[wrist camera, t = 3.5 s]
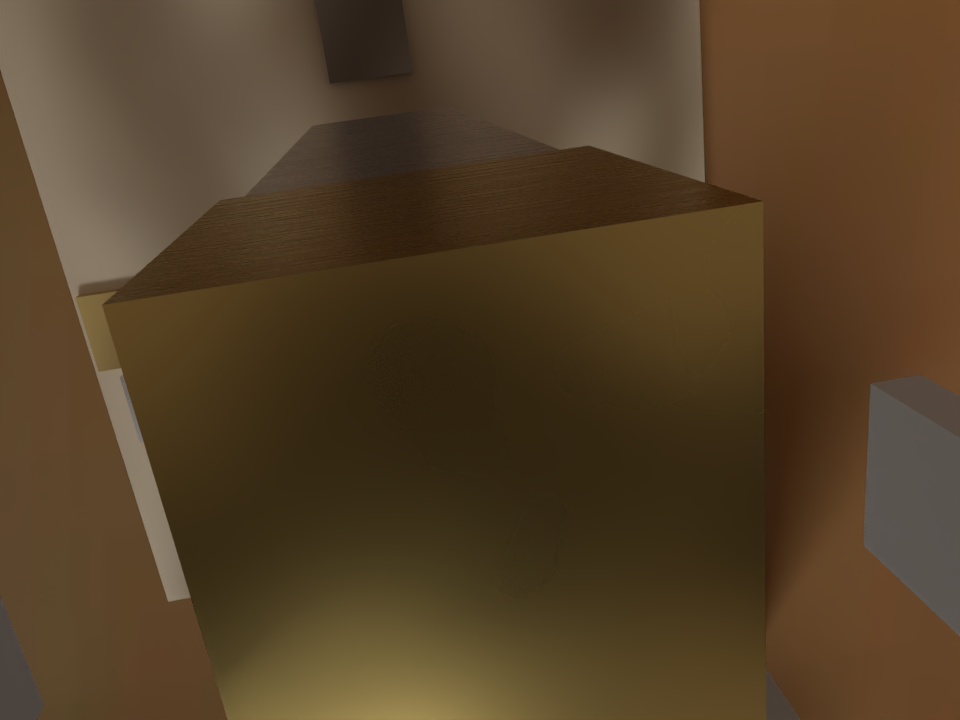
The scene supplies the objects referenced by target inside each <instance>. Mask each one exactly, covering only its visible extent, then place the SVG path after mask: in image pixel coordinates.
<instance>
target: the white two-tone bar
mask: <svg viewBox="0 0 960 720" xmlns="http://www.w3.org/2000/svg"><path fill="white" fill-rule="evenodd" d="M102 307H103V310H104V313H105V317H106V320H107V323H108V327H109V330H110V333H111V337H112V340H113V343H114V346H115V350H116V353H117V356H118V360H119V363H120V366H121V369H122V373H123V374H122V376H121V377H120V380H121V383H122V386H123V390H124V393H125V396H126V399H127V403H128V406H129V409H130V413H131V416H132V419H133V422H134V426H135V429H136V432H137V435H138V439H139V442H144V445H145V449H146V452H147V455H148V458H149V462H150V465H151V468H152V472H153V475H154V478H155V482H156V485H157V488H158V491H159V495H160V498H161V501H162V505H163V508H164V511H165V514H166V518H167V521H168V524H169V528H170V531H171V534H172V538H173V541H174V544H175V547H176V551H177V554H178V557H179V561H180V564H181V567H182V570H183V574H184V577H185V580H186V584H187V587H188V590H189V594H190V597H191V600H192V603H193V607H194V610H195V613H196V617H197V620H198V623H199V626H200V630H201V633H202V636H203V640H204V643H205V646H206V650H207V653H208V656H209V659H210V663H211V666H212V669H213V673H214V676H215V679H216V682H217V686H218V689H219V692H220V696H221V699H222V702H223V706H224V709H225V712H226V715H227V719H228V720H766V566H765V404H764V242H763V201H761V200H758V199H755V198H751V197H748V196H745V195H742V194H739V193H736V192H733V191H730V190H726V189H723V188H720V187H717V186H714V185H711V184H708V183H705V182H701V181H698V180H695V179H692V178H689V177H686V176H683V175H680V174H677V173H673V172H670V171H667V170H664V169H661V168H658V167H655V166H652V165H648V164H645V163H642V162H639V161H636V160H633V159H630V158H627V157H623V156H620V155H617V154H614V153H611V152H608V151H605V150H602V149H599V148H595V147H592V146H589V145H588V146H582V147H575V148H568V149H561V150H559V149H557V148H554V147H551V146H549V145H546V144H544V143H541V142H539V141H536V140H533V139H531V138H528V137H526V136H523V135H521V134H518V133H515V132H513V131H510V130H508V129H505V128H503V127H500V126H498V125H495V124H492V123H490V122H487V121H485V120H482V119H480V118H477V117H474V116H472V115H469V114H467V113H464V112H462V111H459V110H456V109H454V108H451V107H449V106H447V107H440V108H433V109H426V110H418V111H411V112H404V113H397V114H390V115H383V116H376V117H369V118H362V119H355V120H348V121H341V122H334V123H327V124H320V125H313V126H312V127H311V128H310V129H309V130H308V131H307V132H306V133H305V134H304V135H303V136H302V137H301V138H300V139H299V140H298V141H297V142H296V143H295V144H294V145H293V146H292V148H291V149H290V150H289V151H288V152H287V153H286V154H285V155H284V156H283V157H282V158H281V159H280V160H279V161H278V162H277V163H276V164H275V165H274V166H273V167H272V168H271V169H270V170H269V172H268V173H267V174H266V175H265V176H264V177H263V178H262V179H261V180H260V181H259V182H258V183H257V184H256V185H255V186H254V187H253V188H252V189H251V190H250V191H249V192H248V193H247V194H246V196H244V197H237V198H230V199H224V200H219V201H218V202H217V203H216V204H215V205H214V206H213V207H212V208H210V209H209V210H208V211H207V212H206V213H205V214H204V215H203V216H201V217H200V218H199V219H198V220H197V221H196V222H195V223H194V224H192V225H191V226H190V227H189V228H188V229H187V230H186V231H185V232H183V233H182V234H181V235H180V236H179V237H178V238H177V239H176V240H174V241H173V242H172V243H171V244H170V245H169V246H168V247H167V248H165V249H164V250H163V251H162V252H161V253H160V254H159V255H158V256H156V257H155V258H154V259H153V260H152V261H151V262H150V263H149V264H147V265H146V266H145V267H144V268H143V269H142V270H141V271H140V272H138V273H137V274H136V275H135V276H134V277H133V278H132V279H131V280H129V281H128V282H127V283H126V284H125V285H124V286H123V287H122V288H120V289H119V290H118V291H117V292H116V293H115V294H114V295H113V296H111V297H110V298H109V299H108V300H107V301H106V302H105V303H104V304H102Z"/></svg>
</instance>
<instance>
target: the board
mask: <svg viewBox="0 0 960 720" xmlns="http://www.w3.org/2000/svg"><path fill="white" fill-rule="evenodd" d="M0 70H1V73H2V76H3V80H4V83H5V86H6V89H7V92H8V95H9V99H10V102H11V105H12V108H13V111H14V114H15V118H16V121H17V124H18V127H19V130H20V133H21V137H22V140H23V143H24V146H25V149H26V152H27V156H28V159H29V162H30V165H31V168H32V171H33V175H34V178H35V181H36V184H37V187H38V190H39V194H40V197H41V200H42V203H43V206H44V209H45V213H46V216H47V219H48V222H49V225H50V228H51V232H52V235H53V238H54V241H55V244H56V247H57V251H58V254H59V257H60V260H61V263H62V266H63V270H64V273H65V276H66V279H67V282H68V285H69V289H70V292H71V295H72V298H73V301H74V304H75V308H76V311H77V314H78V317H79V320H80V323H81V327H82V330H83V333H84V336H85V339H86V342H87V346H88V349H89V352H90V355H91V358H92V361H93V365H94V368H95V371H96V374H97V377H98V380H99V384H100V387H101V390H102V393H103V396H104V399H105V403H106V406H107V409H108V412H109V415H110V418H111V422H112V425H113V428H114V431H115V434H116V438H117V441H118V444H119V447H120V450H121V453H122V457H123V460H124V463H125V466H126V469H127V472H128V476H129V479H130V482H131V485H132V488H133V491H134V495H135V498H136V501H137V504H138V507H139V510H140V514H141V517H142V520H143V523H144V526H145V529H146V533H147V536H148V539H149V542H150V545H151V548H152V552H153V555H154V558H155V561H156V564H157V567H158V571H159V574H160V577H161V580H162V583H163V586H164V590H165V593H166V596H167V599H168V602H169V601H174V600H180V599H185V598H190V594H189V590H188V587H187V584H186V580H185V577H184V574H183V570H182V567H181V564H180V561H179V557H178V554H177V551H176V547H175V544H174V541H173V538H172V534H171V531H170V528H169V524H168V521H167V518H166V514H165V511H164V508H163V505H162V501H161V498H160V495H159V491H158V488H157V485H156V482H155V478H154V475H153V472H152V468H151V465H150V462H149V458H148V455H147V452H146V449H145V445H144V442H139V439H138V435H137V432H136V429H135V426H134V422H133V419H132V416H131V413H130V409H129V406H128V403H127V399H126V396H125V393H124V390H123V386H122V383H121V380H120V377H121V376H122V374H123V373H122V369H121V366H120V363H119V360H118V356H117V353H116V350H115V346H114V343H113V340H112V337H111V333H110V330H109V327H108V323H107V320H106V317H105V313H104V310H103V307H102V304H104V303H105V302H106V301H107V300H108V299H109V298H110V297H111V296H113V295H114V294H115V293H116V292H117V291H118V290H119V289H120V288H122V287H123V286H124V285H125V284H126V283H127V282H128V281H129V280H131V279H132V278H133V277H134V276H135V275H136V274H137V273H138V272H140V271H141V270H142V269H143V268H144V267H145V266H146V265H147V264H149V263H150V262H151V261H152V260H153V259H154V258H155V257H156V256H158V255H159V254H160V253H161V252H162V251H163V250H164V249H165V248H167V247H168V246H169V245H170V244H171V243H172V242H173V241H174V240H176V239H177V238H178V237H179V236H180V235H181V234H182V233H183V232H185V231H186V230H187V229H188V228H189V227H190V226H191V225H192V224H194V223H195V222H196V221H197V220H198V219H199V218H200V217H201V216H203V215H204V214H205V213H206V212H207V211H208V210H209V209H210V208H212V207H213V206H214V205H215V204H216V203H217V202H218V201H219V200H224V199H230V198H237V197H244V196H246V194H247V193H248V192H249V191H250V190H251V189H252V188H253V187H254V186H255V185H256V184H257V183H258V182H259V181H260V180H261V179H262V178H263V177H264V176H265V175H266V174H267V173H268V172H269V170H270V169H271V168H272V167H273V166H274V165H275V164H276V163H277V162H278V161H279V160H280V159H281V158H282V157H283V156H284V155H285V154H286V153H287V152H288V151H289V150H290V149H291V148H292V146H293V145H294V144H295V143H296V142H297V141H298V140H299V139H300V138H301V137H302V136H303V135H304V134H305V133H306V132H307V131H308V130H309V129H310V128H311V127H312V126H313V125H320V124H327V123H334V122H341V121H348V120H355V119H362V118H369V117H376V116H383V115H390V114H397V113H404V112H411V111H418V110H426V109H433V108H440V107H447V106H449V107H451V108H454V109H456V110H459V111H462V112H464V113H467V114H469V115H472V116H474V117H477V118H480V119H482V120H485V121H487V122H490V123H492V124H495V125H498V126H500V127H503V128H505V129H508V130H510V131H513V132H515V133H518V134H521V135H523V136H526V137H528V138H531V139H533V140H536V141H539V142H541V143H544V144H546V145H549V146H551V147H554V148H557V149H559V150H561V149H568V148H575V147H582V146H588V145H589V146H592V147H595V148H599V149H602V150H605V151H608V152H611V153H614V154H617V155H620V156H623V157H627V158H630V159H633V160H636V161H639V162H642V163H645V164H648V165H652V166H655V167H658V168H661V169H664V170H667V171H670V172H673V173H677V174H680V175H683V176H686V177H689V178H692V179H695V180H698V181H701V182H705V168H704V136H703V103H702V71H701V39H700V6H699V0H0Z"/></svg>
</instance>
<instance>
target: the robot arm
mask: <svg viewBox="0 0 960 720" xmlns="http://www.w3.org/2000/svg"><path fill="white" fill-rule="evenodd" d="M864 546H865V547H866V548H867V549H868V550H869V551H870V552H871V553H872V554H873V555H874V556H875V557H876V558H877V559H879V560H880V561H881V562H882V563H883V564H884V565H885V566H886V567H887V568H888V569H889V570H890V571H891V572H892V573H893V574H894V575H895V576H897V577H898V578H899V579H900V580H901V581H902V582H903V583H904V584H905V585H906V586H907V587H908V588H909V589H910V590H911V591H912V592H913V593H914V594H916V595H917V596H918V597H919V598H920V599H921V600H922V601H923V602H924V603H925V604H926V605H927V606H928V607H929V608H930V609H931V610H932V611H934V612H935V613H936V614H937V615H938V616H939V617H940V618H941V619H942V620H943V621H944V622H945V623H946V624H947V625H948V626H949V627H950V628H951V629H953V630H954V631H955V632H956V633H957V634H958V635H959V636H960V396H959V395H957V394H955V393H953V392H951V391H950V390H948V389H946V388H944V387H942V386H940V385H938V384H937V383H935V382H933V381H931V380H929V379H927V378H926V377H924V376H922V375H915V376H910V377H904V378H898V379H893V380H887V381H882V382H876V383H871V386H870V409H869V432H868V455H867V478H866V501H865V523H864ZM43 707H44V704H43V701H42V699H41V696H40V694H39V691H38V689H37V686H36V684H35V681H34V679H33V676H32V674H31V671H30V669H29V666H28V664H27V661H26V659H25V656H24V654H23V651H22V649H21V646H20V644H19V641H18V639H17V637H16V634H15V632H14V629H13V627H12V624H11V622H10V619H9V617H8V614H7V612H6V609H5V607H4V604H3V602H2V599H1V597H0V720H37V719H38V717H39V715H40V713H41V711H42V709H43Z"/></svg>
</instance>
